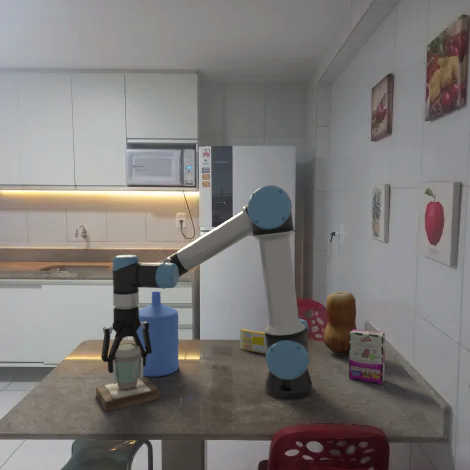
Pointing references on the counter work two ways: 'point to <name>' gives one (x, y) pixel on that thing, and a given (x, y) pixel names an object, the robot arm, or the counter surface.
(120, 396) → the walnut plinth
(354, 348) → the candy bar box
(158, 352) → the water jug
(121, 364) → the coffee cup
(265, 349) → the candy box
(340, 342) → the butternut squash
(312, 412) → the counter surface
